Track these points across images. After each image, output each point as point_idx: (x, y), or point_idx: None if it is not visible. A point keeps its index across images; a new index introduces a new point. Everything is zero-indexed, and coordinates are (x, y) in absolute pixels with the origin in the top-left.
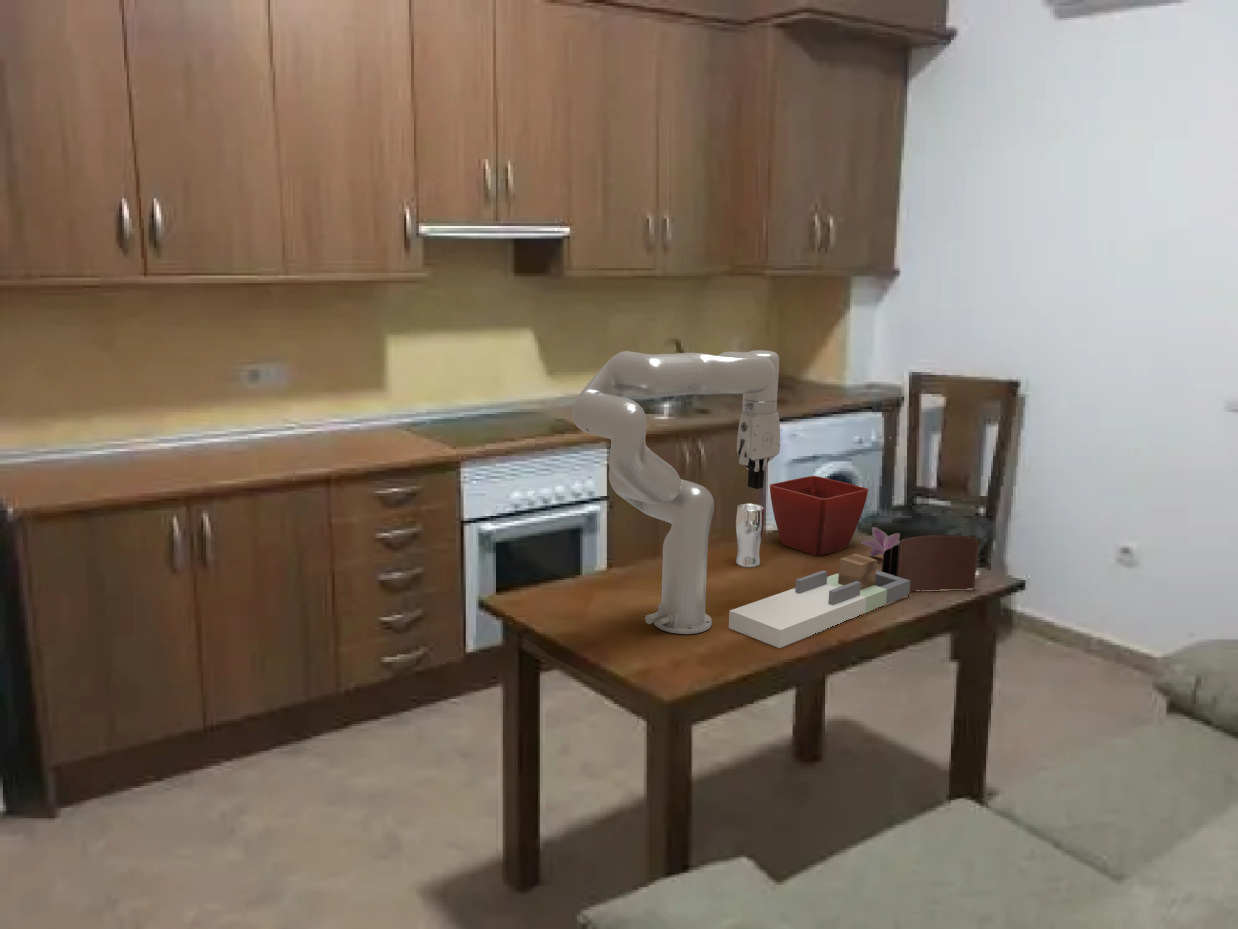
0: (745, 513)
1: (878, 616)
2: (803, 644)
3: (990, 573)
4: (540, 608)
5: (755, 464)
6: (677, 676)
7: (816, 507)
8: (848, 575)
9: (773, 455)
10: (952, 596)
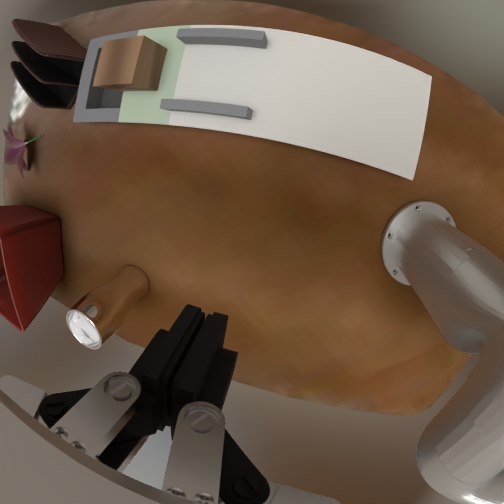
0: (102, 329)
1: (198, 20)
2: None
3: None
4: (427, 383)
5: (219, 468)
6: None
7: (13, 242)
8: (151, 67)
9: (6, 410)
10: (82, 22)
